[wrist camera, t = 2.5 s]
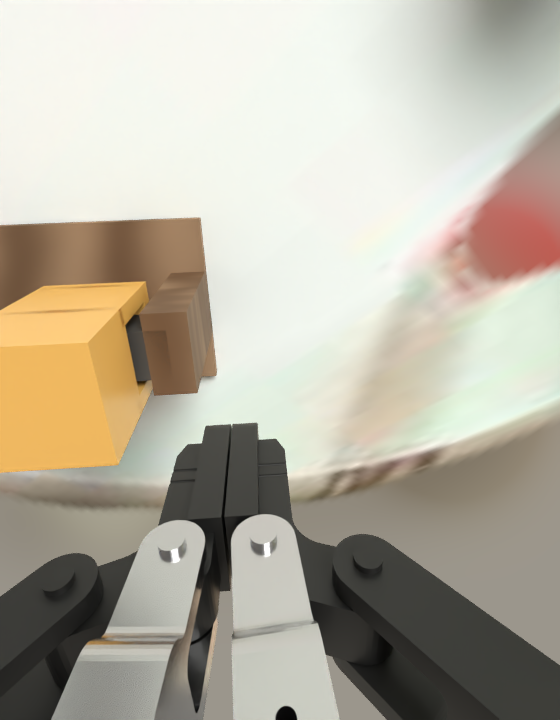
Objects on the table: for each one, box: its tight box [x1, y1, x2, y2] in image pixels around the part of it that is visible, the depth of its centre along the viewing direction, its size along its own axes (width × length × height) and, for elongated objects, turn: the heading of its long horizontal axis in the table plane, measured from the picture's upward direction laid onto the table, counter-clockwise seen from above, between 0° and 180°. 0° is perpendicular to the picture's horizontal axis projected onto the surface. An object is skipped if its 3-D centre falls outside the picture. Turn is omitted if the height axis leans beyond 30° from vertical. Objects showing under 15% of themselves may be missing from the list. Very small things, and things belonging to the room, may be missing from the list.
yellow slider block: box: [0, 281, 153, 473], centre depth 18 cm, size 5×5×8 cm
